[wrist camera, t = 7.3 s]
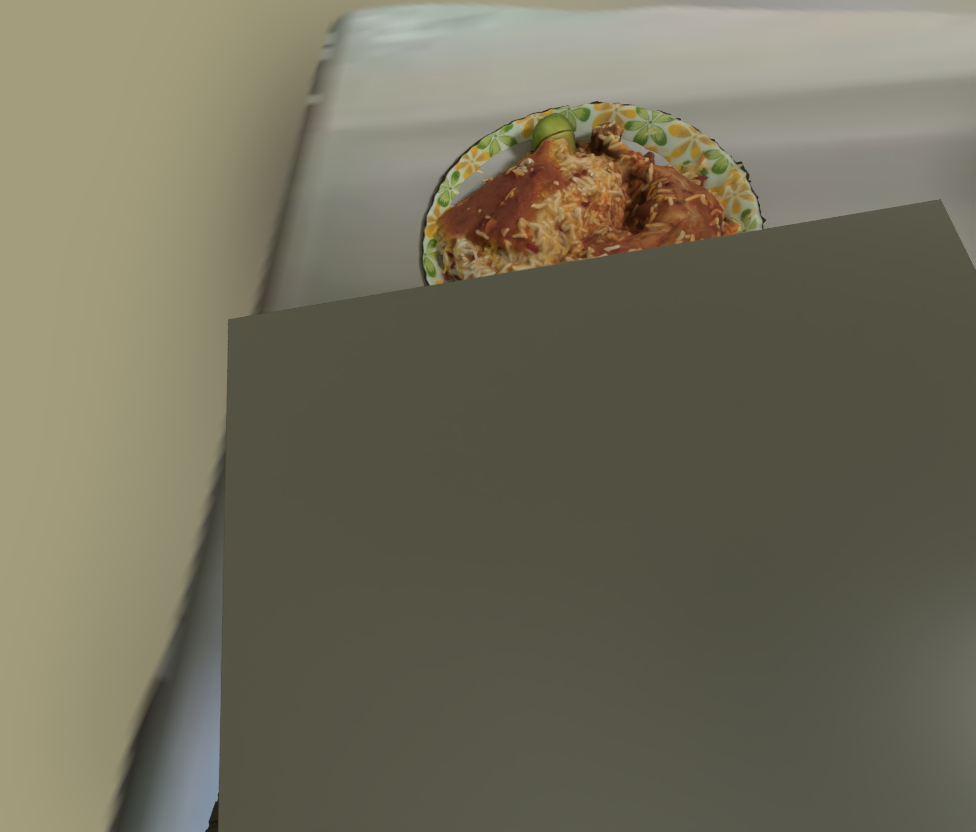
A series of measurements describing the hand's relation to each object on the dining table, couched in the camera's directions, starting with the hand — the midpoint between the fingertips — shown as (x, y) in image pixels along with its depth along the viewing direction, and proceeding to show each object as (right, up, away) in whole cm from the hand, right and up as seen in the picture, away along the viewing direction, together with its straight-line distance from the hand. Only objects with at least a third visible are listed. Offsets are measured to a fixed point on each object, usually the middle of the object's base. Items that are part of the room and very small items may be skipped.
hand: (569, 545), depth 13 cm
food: (+3, +13, +12) cm, 18 cm away
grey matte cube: (+1, -2, +4) cm, 4 cm away
